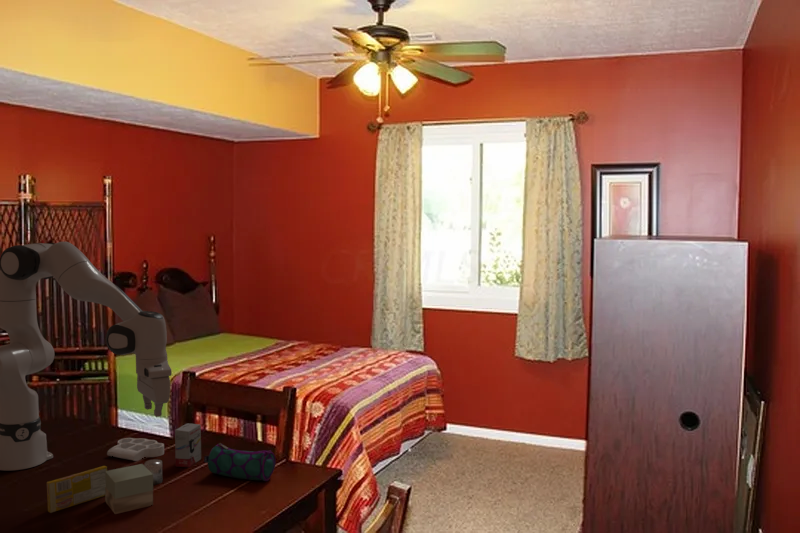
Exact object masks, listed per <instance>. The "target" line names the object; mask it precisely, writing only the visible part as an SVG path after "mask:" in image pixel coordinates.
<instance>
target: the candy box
mask: <svg viewBox="0 0 800 533" xmlns="http://www.w3.org/2000/svg"><path fill="white" fill-rule="evenodd" d="M105 471H108V466H106V465H102V466H99V467H95V468H92V469H88V470H85V471H81V472H77V473H73V474H70V475H66V476H64V477H60V478H56V479H53V480H49V481H47V482H46V496H47V498H46V499H47V512H48V513H50V514H52V513H55V512H57V511H62V510H64V509H68V508H71V507H74V506H77V505H80V504H83V503H86V502H89V501H92V500H97V499H99V498H102V497H105V487H106V483H105Z"/></svg>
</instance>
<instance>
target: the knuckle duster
mask: <svg viewBox="0 0 800 533" xmlns="http://www.w3.org/2000/svg"><path fill="white" fill-rule="evenodd" d="M164 454H165V443H162V442H158V441H157V440H155V439H148V438H143V437H142V438H135V437H126V438H121V439H119V440H117V445H114V446H112V447H110V448H109V449H108V450H107V452H106V455H107V456H108V457H112V456H113V457H114V458H119V459H122V460H129V461H133V462H138V461H141V460H143V459H145V458H144V457H146V458H156V457H157V458H158V457H161V456H163V455H164ZM113 457H112V458H113ZM142 458H143V459H142Z"/></svg>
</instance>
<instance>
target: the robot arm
mask: <svg viewBox="0 0 800 533" xmlns="http://www.w3.org/2000/svg"><path fill="white" fill-rule="evenodd" d="M93 264H94V263H92V262H91V261H90V259H89V258H88V257H87V256H86V254H84V253H83V252H82V251H81V250H80V249H79V248H78V247H77V246H75V245H74V244H73V243H71V242H69V241H58V242H56V243H55V242H54V243H53V242H51V243H43V242H35V243H28V244H22V245H21V244H18V245H13V246H10V247H8V248H6V249H4V250H3V251H2V252H1V253H0V329H1V330H3V331H5V332H6V333H7V335H8V338H9V343H8V344H3V345H0V471H19V470H20V471H21V470H26V469H30V468H33V467H37V466H39V465H41V464H43V463H45V462H47V461H48V460H51V459H53V458H54V454H53V453H52V452H51V451H48V442H47V433H45V432H44V431H42V430H41V427H42V426H41V424H42V421H41V417H40V416H39V414H40V413H39V412H40V411H39V410H40V409H39V395H38V393H37V391H36V390H34V389H32V388H30V387H29V386H28V383H27V381H26V376H27V375H32V374H35V373H39V372H41V371H43V370H45V369H47V367H49V366H51V364H52V363H54V359H55V356H56V355H55V349H54V347H53V345H52V343H50V341H48V340H46V339H45V337H44V336H43V334H42V332H41V329H40V327H39V324H38V323H39V322H38V315H37V313H38V312H37V295H36V294H37V292H36V291H37V290H36V287H37V284H38V282H39V281H40V280H41V279H44V280H49V279H52V278H54V280H56V282H57V283H58V285H59V286H60V287H61V289H62V290H63V291H64V292H65V293H66V294H67V295H68V296H69V297H70V298H72V299H74V300H76V301H80V302H87V303H89V302H90V303H94V304H99V305H102V306H104V307H107V308H109V309H111V310H112V311H113V312H114V313H115V314H116V316H118V318H120V319H121V322H118V323H115V324H113V325H111V326H109V327H108V329H107V331H106V334H105V343H106V346H107V349H108V350H109V351H110V352H111V353H113V354H114V355H118V356H126V355H129V354H135V373H136V376H137V377H136V389H137V392H138V393H140V394H142V399H143V404H144V409H145V410H147V411H148V410H152V408H153V403H154V410H153V415H154V417H156V418H158V417H161V416H162V414H163V412H162V410H163V407H164V404H168V403H169V401H170V397H171V396H170V395H171V378H170V376H172V367H171V366H170V364H169V360H168V352H167V344H168V332H167V331H168V330H167V323H166V320H165V317H164V315H163V314H161V313H160V312H157V311H153V310H152V311H150V310H142V309H141V308H140V307H139V306H138V305H137V304H136V302H134V301H133V300H132V299H131V298H130V297H129V296H128V295H127V293H125V292H124V291H123V290H122V289H121V288H120V287H119V285H116V284H115V283H114V282H113V281H111V280H110V279H109V278H107V277H106V276H104V274H102V273H101V271H100V270H98V269H97V267H95V265H93ZM152 402H153V403H152Z"/></svg>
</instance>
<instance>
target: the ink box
mask: <svg viewBox="0 0 800 533" xmlns="http://www.w3.org/2000/svg"><path fill="white" fill-rule="evenodd" d="M201 433H202V428H201V424H199V423H197V424H196V423H191V422H190V423H185V424H184V425H181V426H180V427H177V428H176V429H175V431H174V436H175V437H174V441H175V443H174V445H175V446H174V448H175V449H174V450H175V451H174V452H175V455H174V456H175V467H178V468H179V467H181V468H190V467H192V466H193V465H195V464H196V463H197V462H199V461H200V460H201V459H202V439H201V438H202V436H201V435H202V434H201Z"/></svg>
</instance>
